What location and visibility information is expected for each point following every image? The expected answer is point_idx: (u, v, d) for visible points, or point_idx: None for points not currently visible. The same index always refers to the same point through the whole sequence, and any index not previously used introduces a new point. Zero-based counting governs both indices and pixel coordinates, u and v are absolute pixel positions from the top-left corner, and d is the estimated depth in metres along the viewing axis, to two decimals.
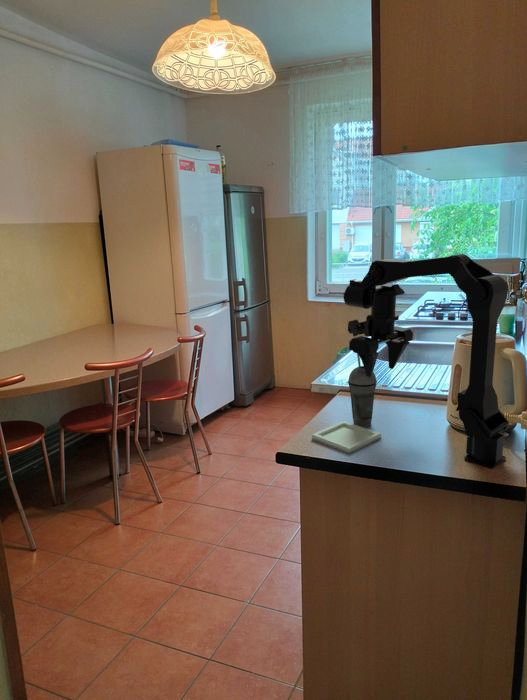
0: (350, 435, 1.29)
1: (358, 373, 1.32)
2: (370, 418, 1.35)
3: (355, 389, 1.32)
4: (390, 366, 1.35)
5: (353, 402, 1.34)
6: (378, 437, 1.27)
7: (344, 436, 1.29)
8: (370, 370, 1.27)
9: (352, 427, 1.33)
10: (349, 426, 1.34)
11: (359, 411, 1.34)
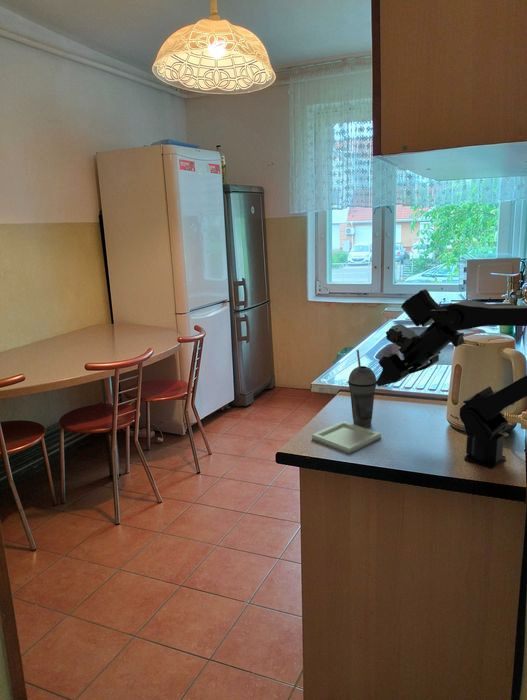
0: (350, 435, 1.29)
1: (358, 373, 1.32)
2: (370, 418, 1.35)
3: (355, 389, 1.32)
4: None
5: (353, 402, 1.34)
6: (378, 437, 1.27)
7: (344, 436, 1.29)
8: (383, 384, 1.24)
9: (352, 427, 1.33)
10: (349, 426, 1.34)
11: (359, 411, 1.34)
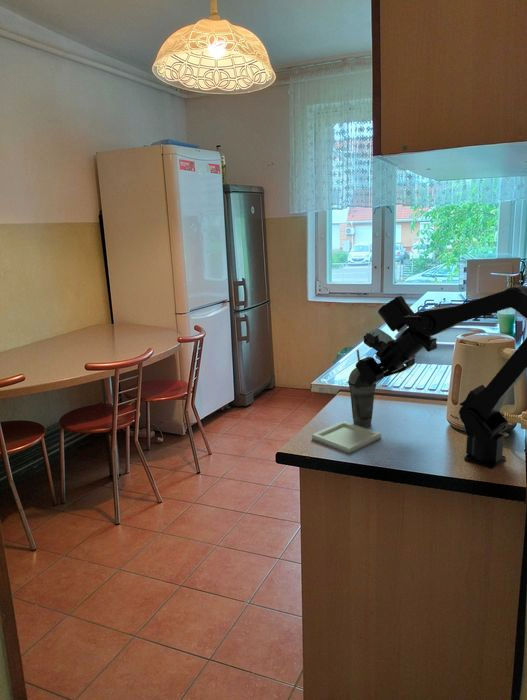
0: (350, 435, 1.29)
1: (358, 373, 1.32)
2: (370, 418, 1.35)
3: (355, 389, 1.32)
4: None
5: (353, 402, 1.34)
6: (378, 437, 1.27)
7: (344, 436, 1.29)
8: (360, 386, 1.28)
9: (352, 427, 1.33)
10: (349, 426, 1.34)
11: (359, 411, 1.34)
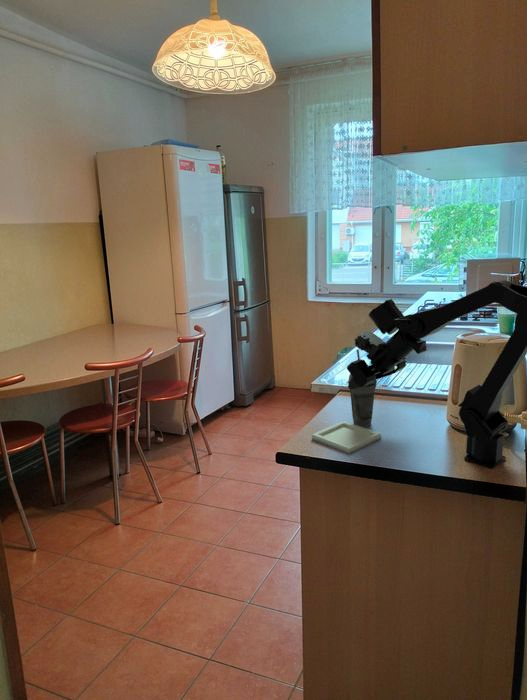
0: (350, 435, 1.29)
1: None
2: (370, 418, 1.35)
3: (355, 389, 1.32)
4: None
5: (353, 402, 1.34)
6: (378, 437, 1.27)
7: (344, 436, 1.29)
8: (354, 387, 1.31)
9: (352, 427, 1.33)
10: (349, 426, 1.34)
11: (359, 411, 1.34)
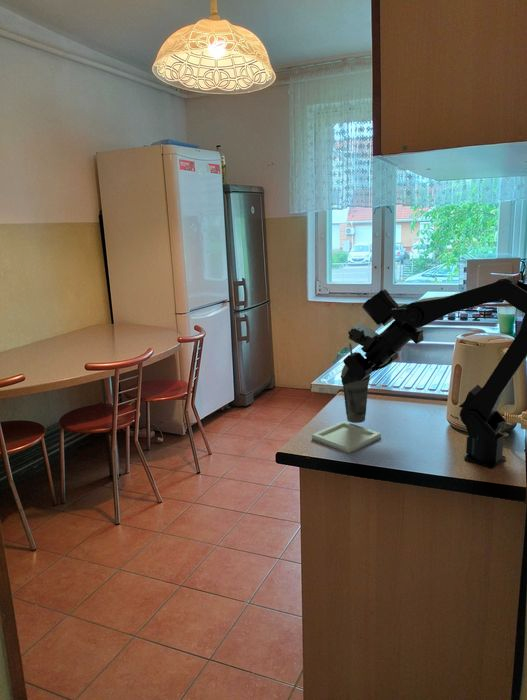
0: (350, 435, 1.29)
1: None
2: (364, 413, 1.32)
3: (349, 384, 1.28)
4: None
5: (347, 397, 1.31)
6: (378, 437, 1.27)
7: (344, 436, 1.29)
8: (349, 382, 1.27)
9: (352, 427, 1.33)
10: (349, 426, 1.34)
11: (354, 406, 1.30)
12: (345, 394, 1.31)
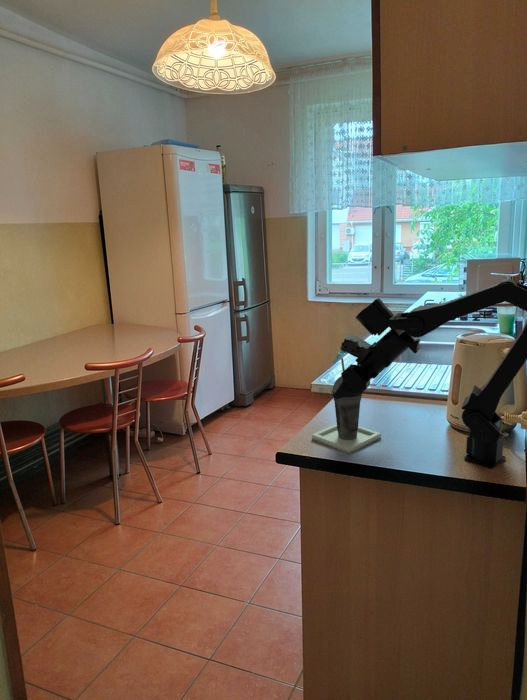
0: None
1: None
2: (357, 429, 1.27)
3: (343, 400, 1.23)
4: None
5: (340, 414, 1.25)
6: (378, 437, 1.27)
7: None
8: (342, 396, 1.21)
9: None
10: None
11: (347, 423, 1.25)
12: (337, 411, 1.26)
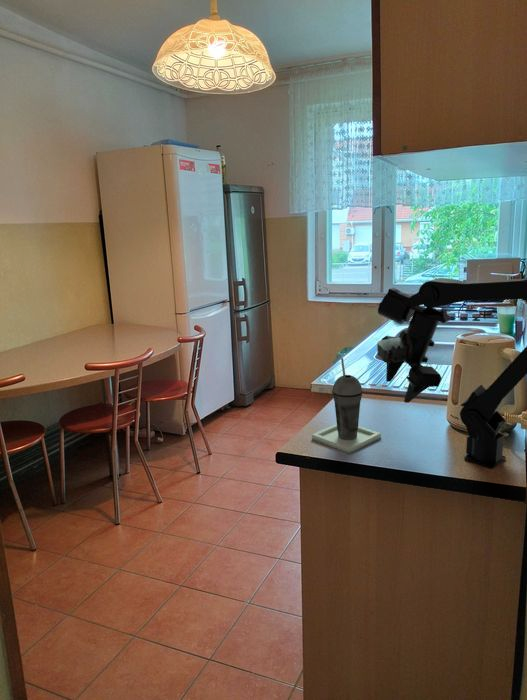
0: None
1: (346, 383, 1.23)
2: (357, 429, 1.27)
3: (343, 400, 1.23)
4: (389, 379, 1.28)
5: (340, 414, 1.25)
6: (378, 437, 1.27)
7: None
8: (414, 396, 1.19)
9: None
10: None
11: (347, 423, 1.25)
12: (337, 411, 1.26)
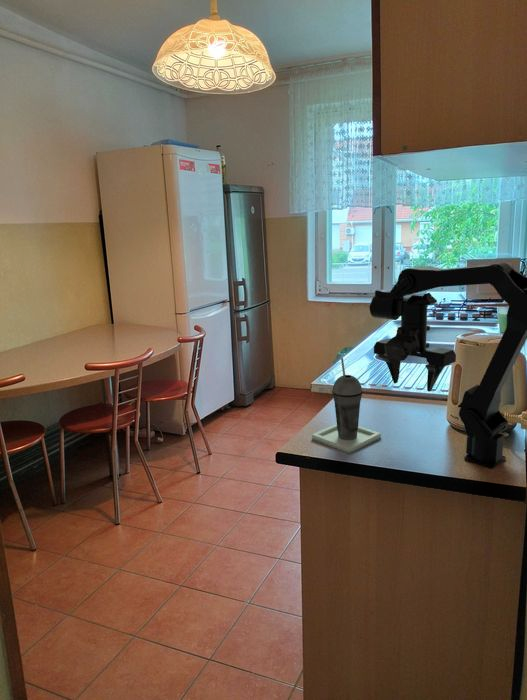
0: None
1: (346, 383, 1.23)
2: (357, 429, 1.27)
3: (343, 400, 1.23)
4: (396, 380, 1.27)
5: (340, 414, 1.25)
6: (378, 437, 1.27)
7: None
8: None
9: None
10: None
11: (347, 423, 1.25)
12: (337, 411, 1.26)
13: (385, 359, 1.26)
